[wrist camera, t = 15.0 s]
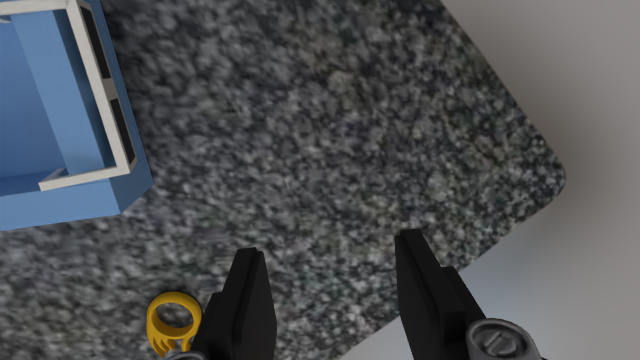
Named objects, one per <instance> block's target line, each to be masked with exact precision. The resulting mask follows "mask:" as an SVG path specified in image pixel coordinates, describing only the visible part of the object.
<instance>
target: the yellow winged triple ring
mask: <svg viewBox="0 0 640 360" xmlns="http://www.w3.org/2000/svg"><path fill="white" fill-rule="evenodd" d="M167 302H174V303H179V304H181V305H183V306H185V307H186V308H188V309H189V310H190V312H191V313H192V315H193V318H194V322H193V323H192V324H191V325H189V326H187V327H183V328H174V327H171V326H168V325H166V324H165V323H163V322H162V321H161V320H160V319H159V317H158V315H157V312H156V307H157V306H159V305H160V304H163V303H167ZM201 317H202V315H201V309H200V307H199V305H198V303H197V302H196V301H195V300H194V299H193V298H192V297H190V296H189V295H187V294H184V293H181V292H166V293H163V294H160V295H159V296H157V297H156V298H155V299H154V300H153V301H152V302H151V304H150V305H149V308H148V311H147V336H148V339H149V342H150V344H151V345H152V347H153V348H154V349H155V351H156V352H157V353H158V354H159V355H160V356H161V357H164V356H165V352H167V353H168V351H169V349H171V350H174V348H175V346H176V343H175V341H174V339H182V342H181V348H182V352H184V351H189V350H190V347H191V344H190V341H189V338H191V337H192V336H193V335H195V334H196V333H197V330H198V328H199V325H200V323H201Z"/></svg>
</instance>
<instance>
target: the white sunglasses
mask: <svg viewBox="0 0 640 360" xmlns="http://www.w3.org/2000/svg"><path fill="white" fill-rule="evenodd" d="M58 9H66V11H67V14H68V17H69V20H70V23H71V26H72V29H73V32H74V35H75V38H76V41H77V45H78V48H79V51H80V54H81V57H82V60H83V63H84V66H85V69H86V72H87V75H88V78H89V81H90V84H91V88H92V91H93V94H94V97H95V100H96V103H97V106H98V109H99V112H100V115H101V118H102V121H103V124H104V128H105V131H106V134H107V137H108V140H109V143H110V146H111V149H112V152H113V155H114V158H115V161H116V164H117V166H113V167H107V168H102V169H97V170H92V171H87V172H82V173H77V174H72V175H68V172H67V169H66V168H65V167H64V168H59V169H57V170H56V171H54V172H53V173H51V174H50V175H49V176H47V177H46V178H45V179H43V180H42V181H40V182H39V183H38V184H39V186H40V189H41V191H46V190H51V189H55V188H60V187H65V186H70V185H75V184H80V183H85V182H90V181H95V180H100V179H105V178H109V177H114V176H119V175H124V174H129V173H131V171H132V169H133V168H134V166H135V165H136V163H137V161H138V159H137V156H136V153H135V149H134V146H133V143H132V139H131V136H130V133H129V130H128V126H127V123H126V120H125V117H124V113H123V110H122V107H121V103H120V100H119V97H118V94H117V90H116V87H115V84H114V80H113V77H112V74H111V71H110V67H109V64H108V61H107V58H106V54H105V51H104V48H103V44H102V41H101V38H100V35H99V31H98V28H97V25H96V22H95V18H94V15H93V12H92V8H91V5H90V4H88V3H86V2H85V1H83V0H18V1H8V2H0V23H11V22H12V21H11V18H10V14H20V13H29V12H39V11H49V10H58Z"/></svg>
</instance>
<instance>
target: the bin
mask: <svg viewBox="0 0 640 360" xmlns="http://www.w3.org/2000/svg"><path fill="white" fill-rule="evenodd" d="M8 1H18V0H0V2H8ZM83 1H85V2H86V3H88V4H90V5H91V8H92V12H93V15H94V18H95V22H96V25H97V28H98V31H99V35H100V38H101V41H102V44H103V48H104V51H105V54H106V58H107V61H108V64H109V67H110V71H111V74H112V77H113V80H114V84H115V87H116V90H117V94H118V97H119V100H120V103H121V107H122V110H123V113H124V117H125V120H126V123H127V126H128V130H129V133H130V136H131V139H132V143H133V146H134V149H135V153H136V156H137V159H138V161H137V163H136V165H135V166H134V168H133V169H132V171H131V173H129V174H124V175H119V176H114V177H109V178H105V179H100V180H95V181H90V182H85V183H80V184H75V185H70V186H65V187H60V188H55V189H51V190H46V191H41V189H40V186H39V184H38V183H39V182H40V181H42V180H43V179H45V178H46V177H47V176H49V175H50V174H51V173H53V172H54V171H56V170H57V169H59V168H64V167H65V168H66V169H67V172H68V175H72V174H77V173H82V172H87V171H92V170H97V169H102V168H107V167H113V166H117V164H116V161H115V158H114V155H113V152H112V149H111V146H110V143H109V140H108V137H107V134H106V131H105V128H104V124H103V121H102V118H101V115H100V112H99V109H98V106H97V103H96V100H95V97H94V94H93V91H92V88H91V84H90V81H89V78H88V75H87V72H86V69H85V66H84V63H83V60H82V57H81V54H80V51H79V48H78V45H77V41H76V38H75V35H74V32H73V29H72V26H71V23H70V20H69V17H68V14H67V11H66V9H58V10H49V11H39V12H29V13H20V14H10V18H11V21H12V22H11V23H0V231H3V230H10V229H17V228H24V227H31V226H38V225H45V224H52V223H60V222H67V221H74V220H81V219H88V218H95V217H102V216H109V215H116V214H121V213H122V212H123V211H124V210H125V209H127V208H128V207H129V206H130V205H131V204H132V203H133V202H135V201H136V200H137V199H138V198H139V197H140V196H141V195H142V194H144V193H145V192H146V191H147V190H148V189H149V188H150V187H152V186H153V185H154V182H153V179H152V175H151V172H150V169H149V165H148V162H147V159H146V155H145V152H144V148H143V145H142V142H141V138H140V135H139V132H138V128H137V125H136V121H135V118H134V115H133V111H132V108H131V105H130V101H129V98H128V95H127V91H126V88H125V84H124V81H123V78H122V74H121V71H120V68H119V64H118V61H117V57H116V54H115V51H114V47H113V44H112V41H111V37H110V34H109V30H108V27H107V24H106V20H105V17H104V14H103V10H102V7H101V3H100V0H83Z"/></svg>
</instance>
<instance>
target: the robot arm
mask: <svg viewBox="0 0 640 360" xmlns="http://www.w3.org/2000/svg"><path fill="white" fill-rule="evenodd" d="M394 239H395V256H396V273H397V289H398V305H399V313H400V317H401V321H402V324H403V327H404V330H405V333H406V336H407V339H408V342H409V345H410V349H411V352H412V355H413V358H414V360H547V359H545V358H542V357H541V356H540V354H539V352H538V350H537V347H536V345H535V343H534V341H533V339H532V338H531V336H530V335H529V333H527V332H526V331H525V330H524V329H523V328H521V327H520V326H518V325H516V324H514V323H512V322H509V321H506V320H503V319H496V318H486V316H485V315H484V313H483V312H482V310H481V309H480V307H479V306H478V304H477V302H476V301H475V299H474V298H473V296H472V294H471V293H470V291H469V290H468V288H467V287H466V285H465V284H464V282H463V281H462V279H461V277H460V276H459V274H458V272H457V271H456V269H455V268H454V267H452V266H448V267H441V266H440V264H439V263H438V261H437V259H436V257H435V256H434V254H433V252H432V250H431V249H430V247H429V245H428V244H427V242H426V240H425V238H424V237H423V235H422V233H421V231H420V230H419V229H409V230H401V231H400V235H397V236H395V238H394ZM276 335H277V321H276V315H275V310H274V305H273V300H272V294H271V289H270V284H269V279H268V274H267V268H266V263H265V258H264V253H263V251H257V249H256V247H252V248H244V249H238V250H237V252H236V255H235V258H234V260H233V263H232V266H231V269H230V271H229V274H228V277H227V279H226V282H225V285H224V287H223V290H222V292H217V293H213V294H212V296H211V298H210V301H209V303H208V306H207V308H206V310H205V313H204V315H203V318H202V320H201V323H200V325H199V328H198V330H197V333H196V335H195V338H194V340H193V342H192V345H191V347H190V350H189V351H184V352H180V353H177V354H174V355H172V356H170V357H168V358H167V359H165V360H273V358H274V350H275V343H276Z"/></svg>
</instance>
